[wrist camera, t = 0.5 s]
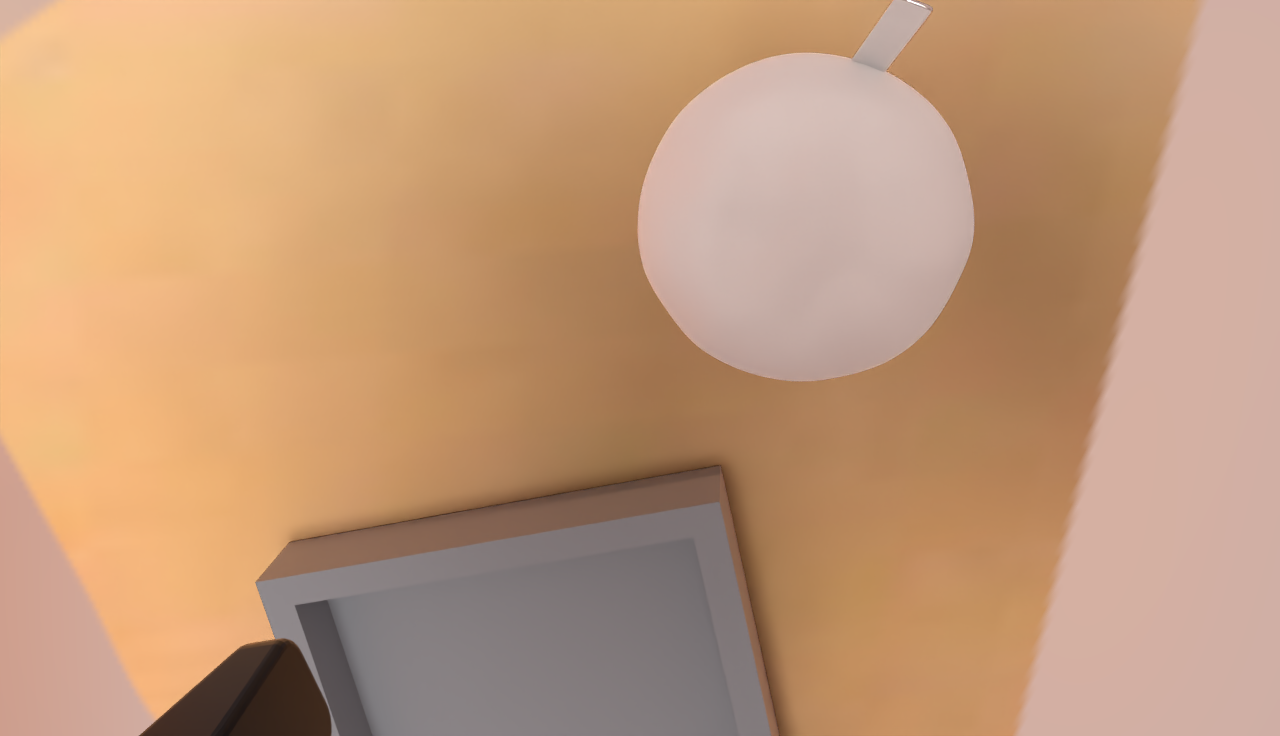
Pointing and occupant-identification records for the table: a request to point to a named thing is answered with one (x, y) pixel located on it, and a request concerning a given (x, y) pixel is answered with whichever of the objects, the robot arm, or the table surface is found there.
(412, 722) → the tray
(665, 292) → the milkshake
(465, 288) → the table surface
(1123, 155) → the table surface
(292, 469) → the table surface
